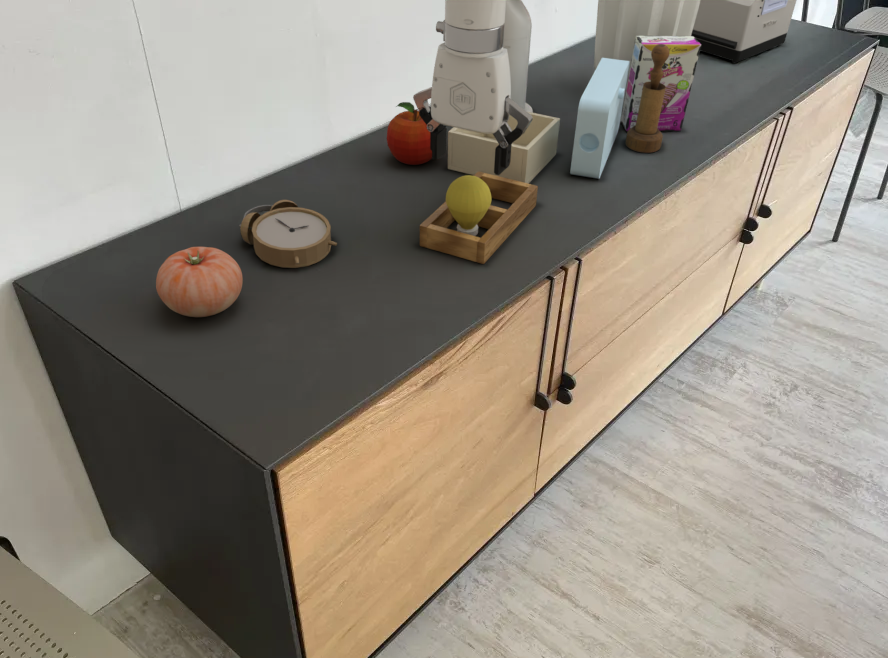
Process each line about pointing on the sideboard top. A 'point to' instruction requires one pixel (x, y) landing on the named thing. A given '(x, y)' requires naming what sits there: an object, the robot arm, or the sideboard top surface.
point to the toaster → (741, 26)
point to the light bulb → (468, 202)
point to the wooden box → (526, 152)
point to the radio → (599, 117)
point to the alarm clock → (287, 234)
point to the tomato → (199, 281)
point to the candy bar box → (674, 78)
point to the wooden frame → (481, 221)
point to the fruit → (409, 137)
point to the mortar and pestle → (650, 107)
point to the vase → (639, 24)
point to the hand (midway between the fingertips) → (469, 163)
